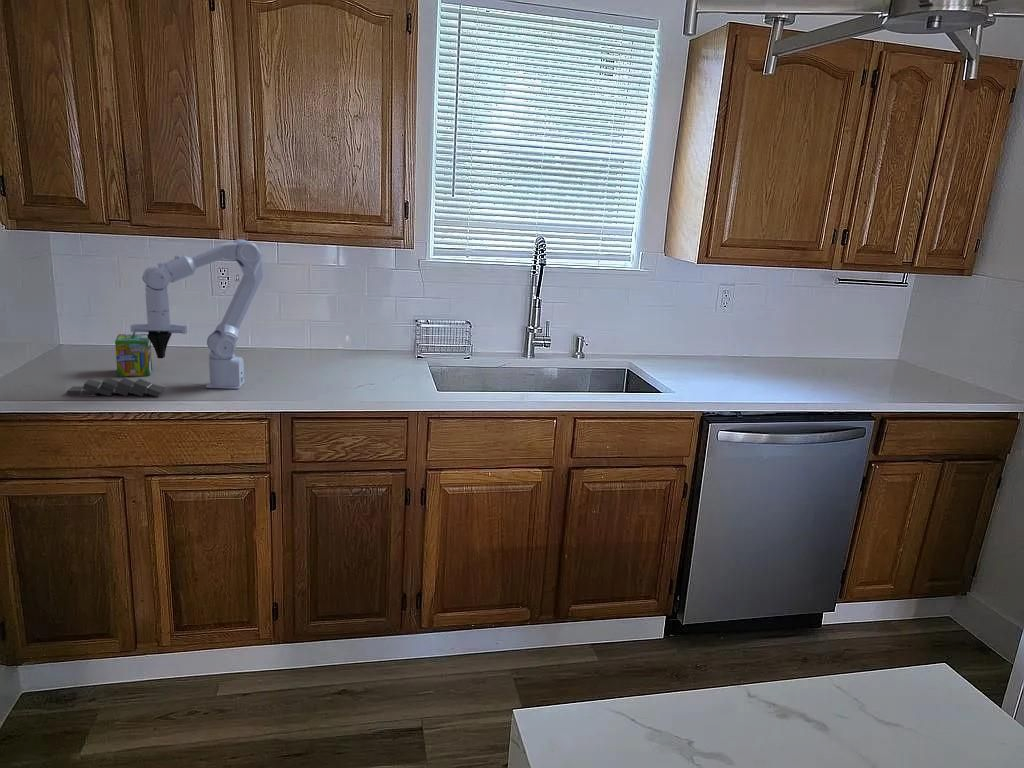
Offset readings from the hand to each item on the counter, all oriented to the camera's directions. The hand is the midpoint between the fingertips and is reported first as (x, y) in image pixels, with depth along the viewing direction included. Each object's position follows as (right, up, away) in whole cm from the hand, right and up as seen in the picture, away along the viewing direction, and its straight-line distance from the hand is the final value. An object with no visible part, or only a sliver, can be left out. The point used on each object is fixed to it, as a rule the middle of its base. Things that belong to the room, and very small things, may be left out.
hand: (161, 357), depth 206 cm
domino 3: (-7, -10, -3) cm, 13 cm away
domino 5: (+1, -10, -2) cm, 10 cm away
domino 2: (-12, -10, -4) cm, 15 cm away
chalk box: (-17, -4, +19) cm, 26 cm away
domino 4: (-3, -10, -2) cm, 11 cm away
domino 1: (-16, -10, -4) cm, 19 cm away
